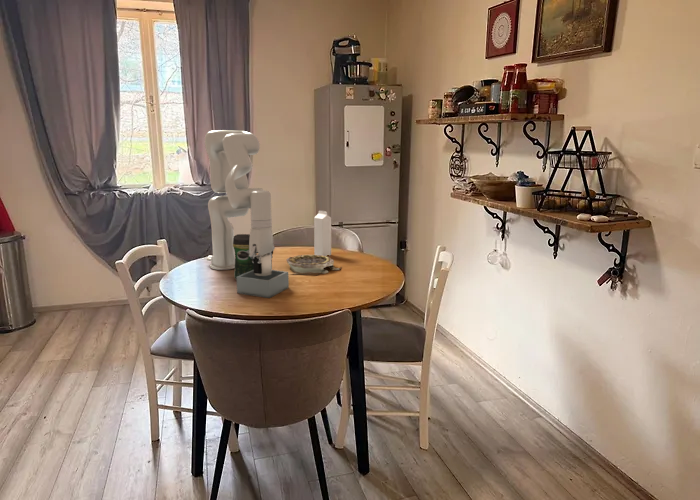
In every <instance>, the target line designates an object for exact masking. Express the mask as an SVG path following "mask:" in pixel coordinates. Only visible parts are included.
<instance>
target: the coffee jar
mask: <svg viewBox="0 0 700 500" xmlns="http://www.w3.org/2000/svg"><path fill="white" fill-rule="evenodd" d="M249 238H250V233H248V234H246V233H245V234H244V233H242V234H241V233H239V234H234V238H233V247H234V250H235V268H234V279H235V280H236V281H237V278H236V277H237V276H240V275H242V274H244V273H247V272H249V271H251V270H254V267H253V262H252V260H251V258H250V257H249V254H250V253H249Z"/></svg>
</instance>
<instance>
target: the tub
mask: <svg viewBox="0 0 700 500" xmlns="http://www.w3.org/2000/svg"><path fill="white" fill-rule="evenodd" d="M236 278H237V280H236V294H238V293H239V295H245V296H252V297H259V298H266V299H270V298H272V297H274V296H277V295H278V294H280V293H282V292H284V291H286V290H287V289H289V287H290V285H289V284H290V283H289V271H284V270H278V269H277V270H276V269H272V274H271V275H268V276H257V275H255V273H254V270H251V271H249V272H247V273H244V274H242V275H240V276H237V277H236Z"/></svg>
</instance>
